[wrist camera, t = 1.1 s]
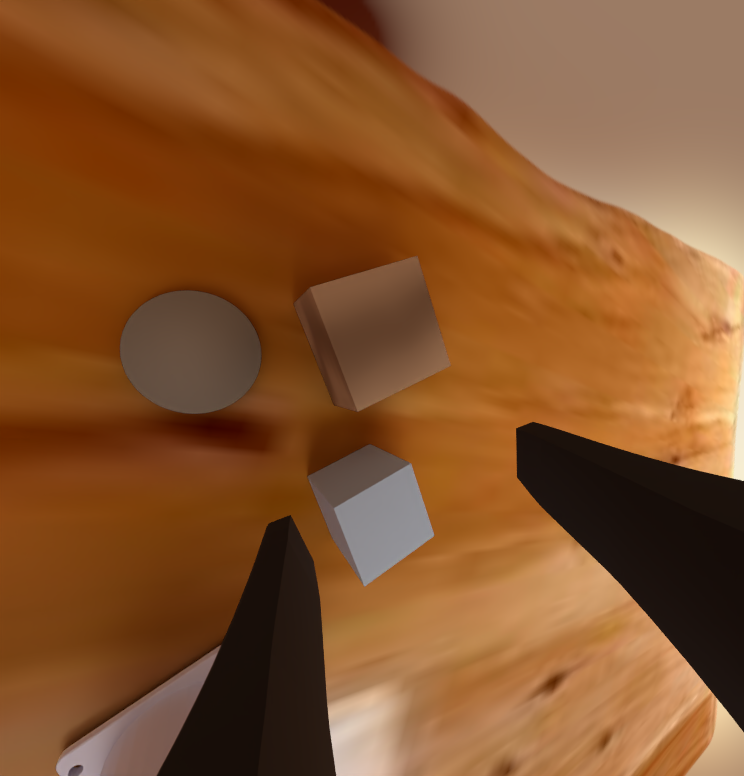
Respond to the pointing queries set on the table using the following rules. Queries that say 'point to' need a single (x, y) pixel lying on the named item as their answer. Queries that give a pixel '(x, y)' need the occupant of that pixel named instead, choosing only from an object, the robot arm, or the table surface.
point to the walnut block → (373, 333)
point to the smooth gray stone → (190, 352)
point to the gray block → (372, 509)
